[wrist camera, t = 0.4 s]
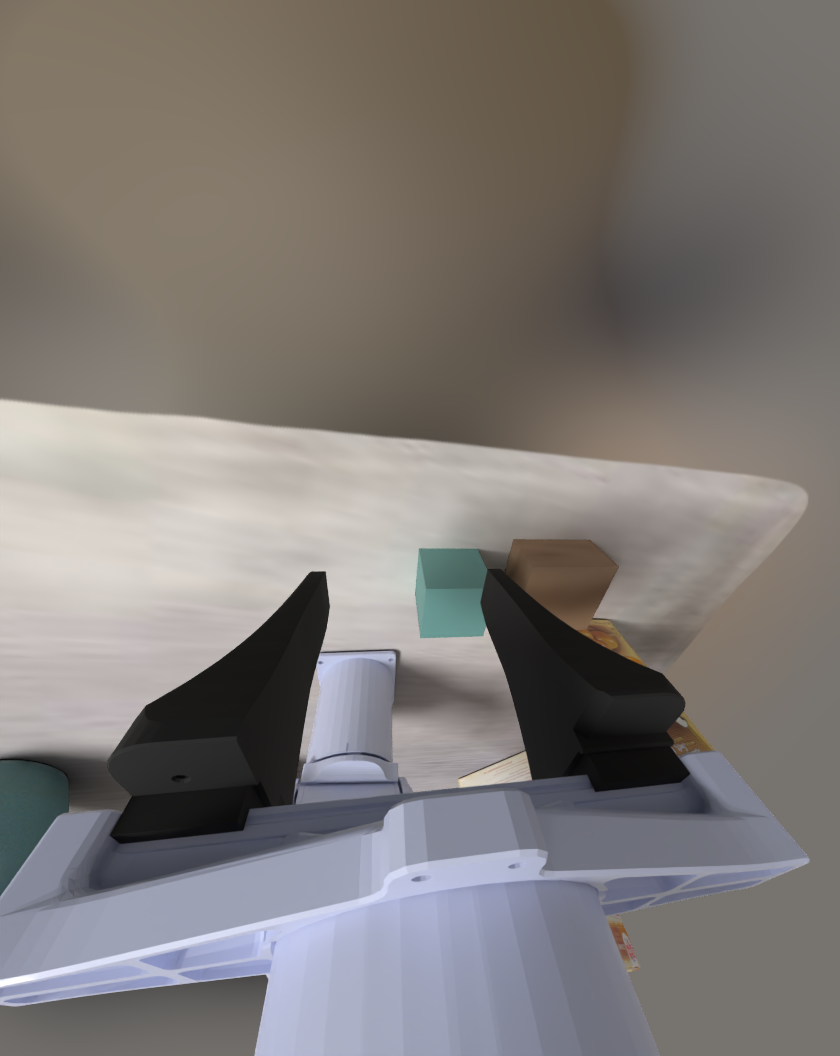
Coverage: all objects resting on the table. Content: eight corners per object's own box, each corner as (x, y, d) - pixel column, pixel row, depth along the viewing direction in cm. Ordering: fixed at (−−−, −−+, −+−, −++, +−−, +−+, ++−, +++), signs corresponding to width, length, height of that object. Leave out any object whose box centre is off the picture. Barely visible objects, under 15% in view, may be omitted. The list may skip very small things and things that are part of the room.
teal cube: (468, 592, 28) (483, 636, 24) (415, 593, 27) (420, 638, 23) (477, 548, 25) (495, 588, 21) (419, 547, 25) (426, 589, 20)
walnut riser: (563, 597, 30) (586, 629, 26) (496, 598, 29) (511, 632, 25) (588, 538, 26) (619, 566, 23) (512, 537, 25) (532, 567, 22)
